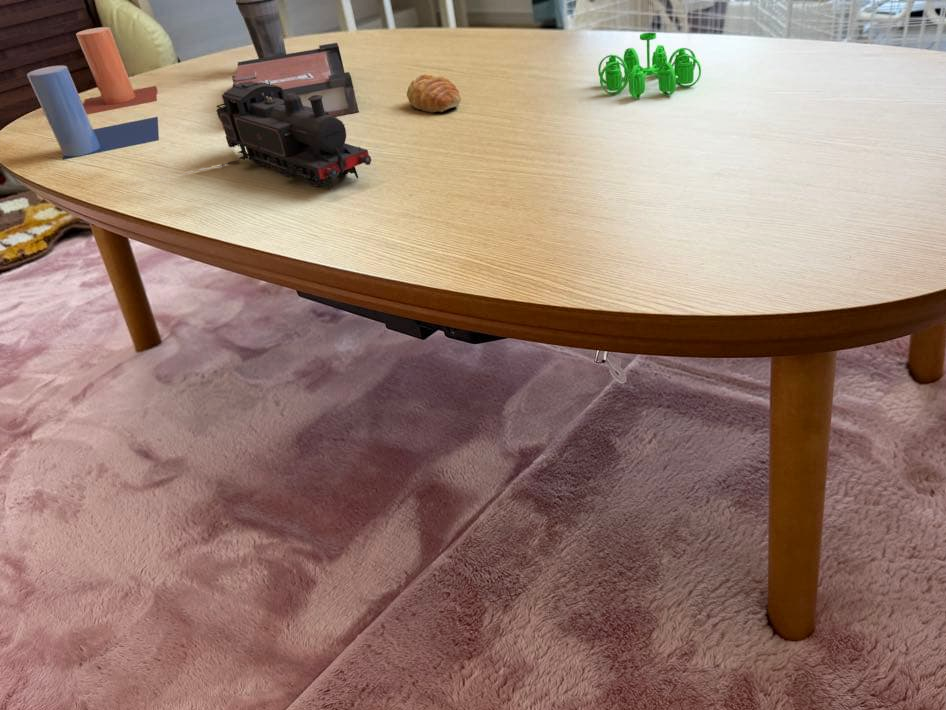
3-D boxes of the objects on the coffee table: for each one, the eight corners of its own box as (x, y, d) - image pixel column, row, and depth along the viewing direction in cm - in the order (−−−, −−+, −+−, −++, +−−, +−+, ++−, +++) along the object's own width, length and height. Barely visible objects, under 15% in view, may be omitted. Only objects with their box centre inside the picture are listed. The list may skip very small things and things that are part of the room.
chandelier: (669, 66, 123) (669, 17, 119) (722, 87, 111) (724, 33, 107) (579, 85, 119) (576, 35, 115) (625, 109, 108) (623, 54, 104)
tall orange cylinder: (103, 106, 135) (74, 36, 129) (104, 99, 139) (76, 31, 133) (135, 100, 137) (109, 30, 130) (136, 93, 141) (110, 25, 134)
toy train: (328, 201, 91) (304, 111, 85) (227, 162, 106) (200, 83, 100) (383, 179, 95) (364, 91, 89) (278, 144, 110) (256, 67, 104)
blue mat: (64, 164, 113) (62, 159, 112) (70, 137, 123) (69, 134, 123) (160, 144, 116) (158, 139, 116) (159, 120, 127) (157, 116, 126)
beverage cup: (249, 71, 149) (212, -52, 137) (284, 61, 152) (252, -59, 141) (266, 76, 144) (230, -51, 132) (302, 66, 148) (270, -58, 136)
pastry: (474, 106, 116) (469, 79, 113) (432, 118, 113) (427, 90, 111) (443, 95, 122) (438, 69, 120) (403, 106, 120) (398, 79, 117)
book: (242, 90, 137) (232, 59, 134) (344, 73, 140) (337, 42, 137) (239, 133, 116) (227, 98, 113) (358, 112, 119) (351, 76, 116)
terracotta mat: (82, 119, 132) (80, 115, 132) (86, 102, 141) (84, 99, 141) (158, 104, 135) (156, 100, 135) (157, 89, 144) (156, 85, 144)
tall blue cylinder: (62, 159, 112) (24, 77, 106) (64, 150, 116) (28, 70, 110) (99, 152, 114) (65, 70, 107) (101, 142, 117) (68, 63, 111)
